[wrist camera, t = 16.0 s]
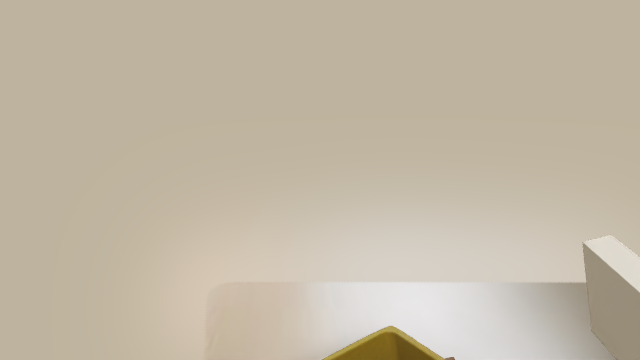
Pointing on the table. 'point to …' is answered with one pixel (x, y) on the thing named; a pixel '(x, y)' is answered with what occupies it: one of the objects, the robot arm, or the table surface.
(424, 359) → the flower pot
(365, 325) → the table surface
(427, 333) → the table surface
